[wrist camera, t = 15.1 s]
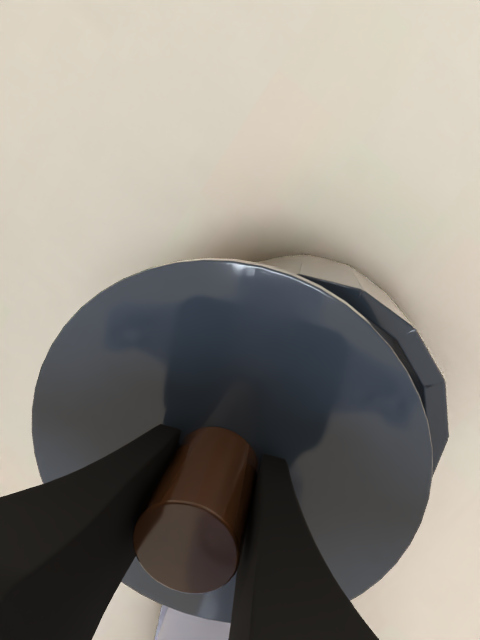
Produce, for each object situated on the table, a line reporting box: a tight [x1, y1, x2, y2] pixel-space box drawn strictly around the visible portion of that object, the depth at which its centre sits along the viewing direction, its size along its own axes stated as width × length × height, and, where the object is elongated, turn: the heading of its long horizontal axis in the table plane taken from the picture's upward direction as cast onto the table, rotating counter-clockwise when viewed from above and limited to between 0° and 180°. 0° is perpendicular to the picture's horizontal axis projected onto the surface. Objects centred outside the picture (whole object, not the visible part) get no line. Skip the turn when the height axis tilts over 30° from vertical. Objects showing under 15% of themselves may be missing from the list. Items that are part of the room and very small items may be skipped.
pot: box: [256, 254, 449, 477], centre depth 18 cm, size 11×11×6 cm
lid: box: [32, 258, 433, 623], centre depth 11 cm, size 12×12×4 cm
